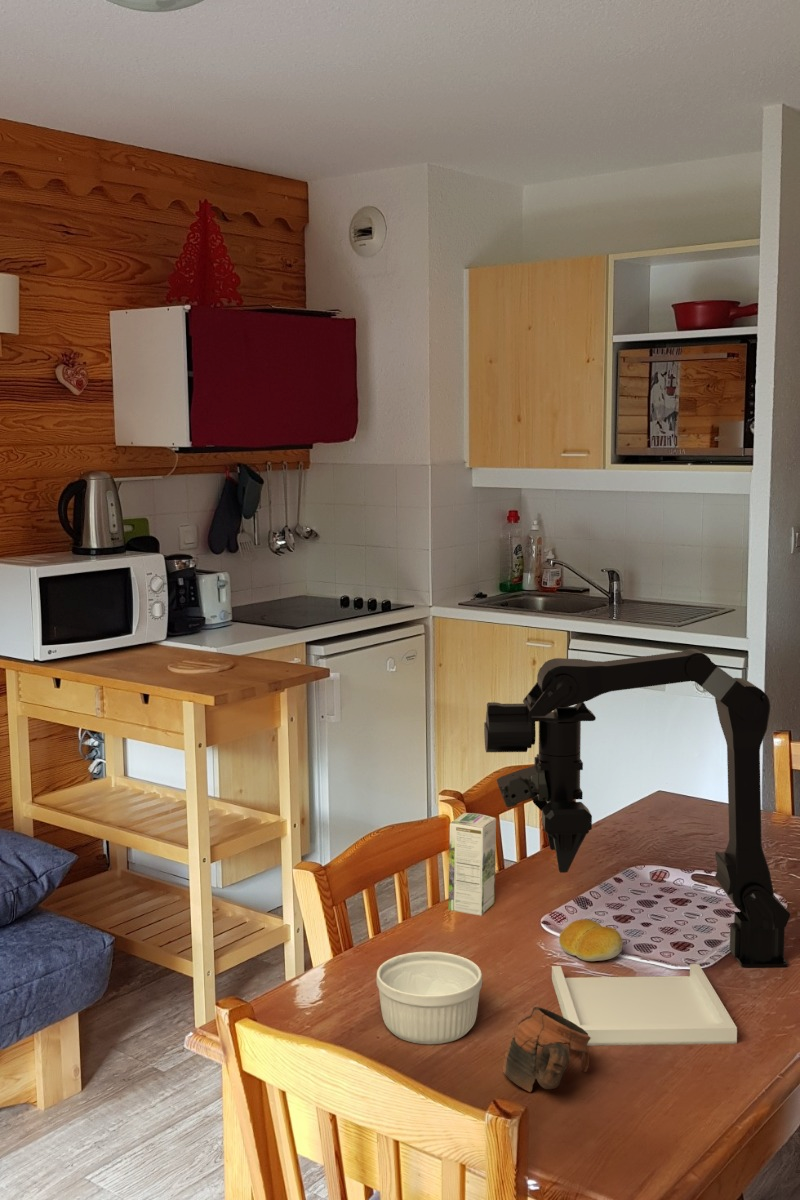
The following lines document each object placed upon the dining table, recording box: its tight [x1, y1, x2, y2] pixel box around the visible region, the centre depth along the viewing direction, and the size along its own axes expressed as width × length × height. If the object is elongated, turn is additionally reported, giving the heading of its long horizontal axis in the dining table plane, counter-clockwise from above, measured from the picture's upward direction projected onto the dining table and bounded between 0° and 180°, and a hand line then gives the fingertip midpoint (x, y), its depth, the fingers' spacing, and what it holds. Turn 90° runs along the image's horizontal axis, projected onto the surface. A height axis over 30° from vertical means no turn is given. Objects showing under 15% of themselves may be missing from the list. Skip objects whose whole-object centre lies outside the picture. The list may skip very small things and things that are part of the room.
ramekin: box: [376, 951, 483, 1045], centre depth 150 cm, size 13×13×7 cm
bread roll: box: [558, 918, 623, 962], centre depth 171 cm, size 8×9×4 cm
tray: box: [551, 963, 738, 1047], centre depth 154 cm, size 20×18×2 cm
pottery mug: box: [502, 1006, 590, 1093], centre depth 137 cm, size 12×9×8 cm
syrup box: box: [448, 812, 497, 917], centre depth 188 cm, size 6×6×14 cm
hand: (558, 860), depth 167 cm, fingers open, 9 cm apart
